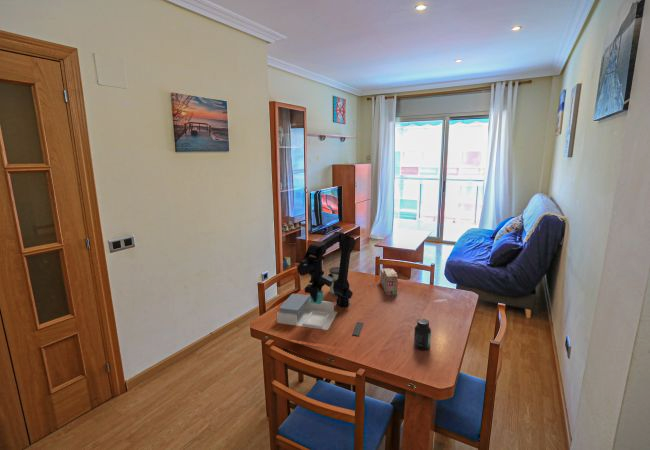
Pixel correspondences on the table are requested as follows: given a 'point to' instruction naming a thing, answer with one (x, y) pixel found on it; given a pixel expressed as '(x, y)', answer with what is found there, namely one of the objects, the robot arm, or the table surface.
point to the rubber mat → (358, 329)
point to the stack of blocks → (389, 281)
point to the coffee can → (335, 274)
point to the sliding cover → (294, 303)
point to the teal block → (319, 298)
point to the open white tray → (310, 316)
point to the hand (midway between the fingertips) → (316, 299)
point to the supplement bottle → (422, 335)
